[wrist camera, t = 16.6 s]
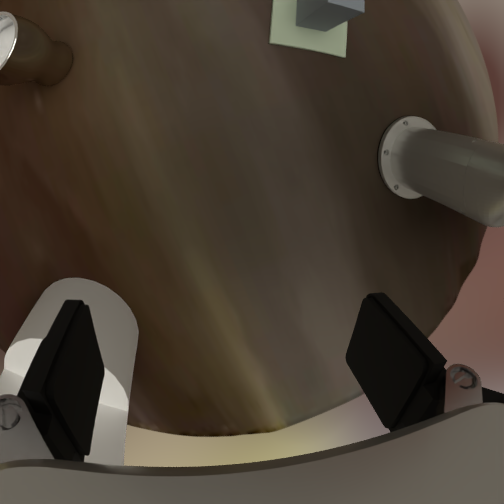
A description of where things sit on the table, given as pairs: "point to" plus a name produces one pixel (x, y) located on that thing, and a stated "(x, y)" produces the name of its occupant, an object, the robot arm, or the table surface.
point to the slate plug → (326, 13)
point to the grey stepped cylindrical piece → (111, 348)
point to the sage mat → (304, 32)
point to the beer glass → (30, 53)
